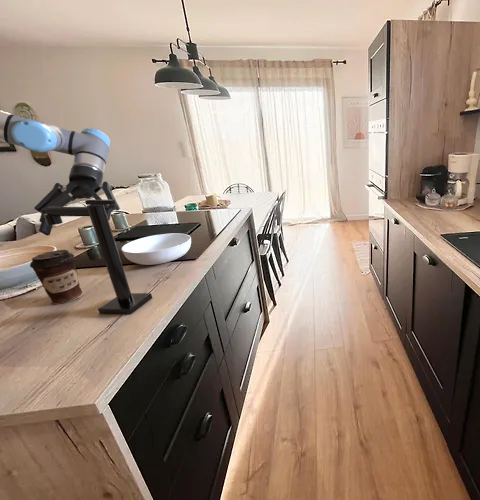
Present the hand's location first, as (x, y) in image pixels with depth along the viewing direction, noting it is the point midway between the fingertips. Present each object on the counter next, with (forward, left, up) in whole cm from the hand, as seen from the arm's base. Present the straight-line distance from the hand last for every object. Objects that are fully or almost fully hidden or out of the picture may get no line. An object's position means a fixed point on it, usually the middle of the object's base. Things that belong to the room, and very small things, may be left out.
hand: (72, 231), depth 82 cm
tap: (+17, -13, -16) cm, 27 cm away
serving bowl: (+10, +18, -16) cm, 26 cm away
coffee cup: (+2, -10, -16) cm, 19 cm away
